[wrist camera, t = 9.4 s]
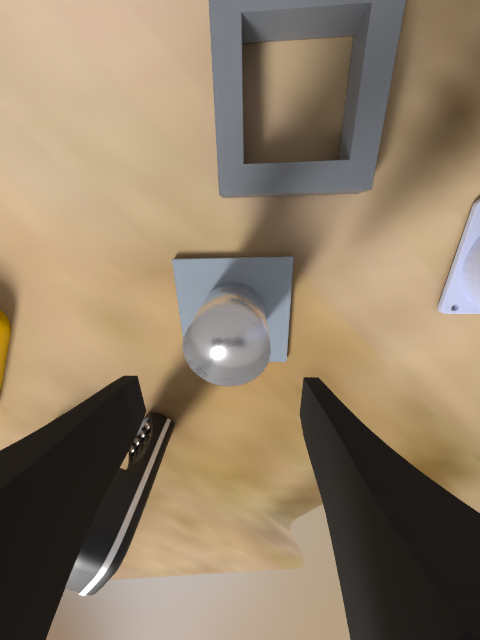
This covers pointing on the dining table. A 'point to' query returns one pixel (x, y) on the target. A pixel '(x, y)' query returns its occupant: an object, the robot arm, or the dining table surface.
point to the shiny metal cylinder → (228, 336)
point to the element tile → (3, 343)
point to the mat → (256, 272)
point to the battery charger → (121, 509)
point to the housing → (361, 99)
